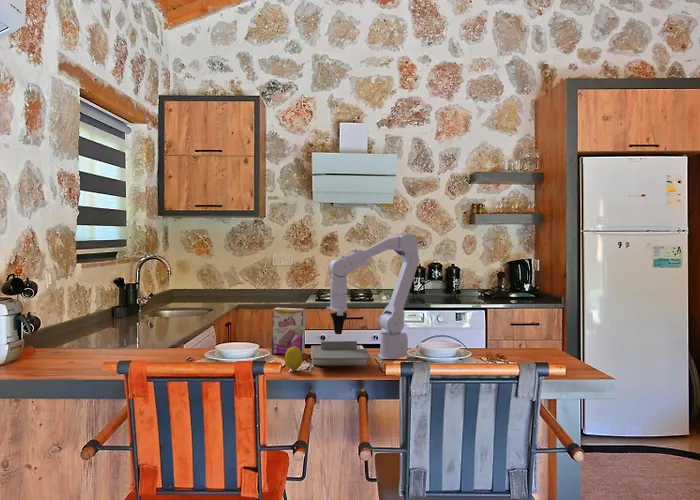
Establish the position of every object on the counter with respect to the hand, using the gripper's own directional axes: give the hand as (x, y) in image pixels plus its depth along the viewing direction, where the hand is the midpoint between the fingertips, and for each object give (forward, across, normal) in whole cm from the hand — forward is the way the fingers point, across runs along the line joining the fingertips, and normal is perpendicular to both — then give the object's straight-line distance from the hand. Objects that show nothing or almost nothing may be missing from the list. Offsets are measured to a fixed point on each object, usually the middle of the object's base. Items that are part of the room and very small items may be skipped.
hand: (338, 333), depth 193 cm
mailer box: (+9, +1, 0) cm, 9 cm away
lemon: (+9, +15, -15) cm, 23 cm away
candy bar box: (+9, -12, -17) cm, 23 cm away
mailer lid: (+5, +12, 0) cm, 13 cm away
